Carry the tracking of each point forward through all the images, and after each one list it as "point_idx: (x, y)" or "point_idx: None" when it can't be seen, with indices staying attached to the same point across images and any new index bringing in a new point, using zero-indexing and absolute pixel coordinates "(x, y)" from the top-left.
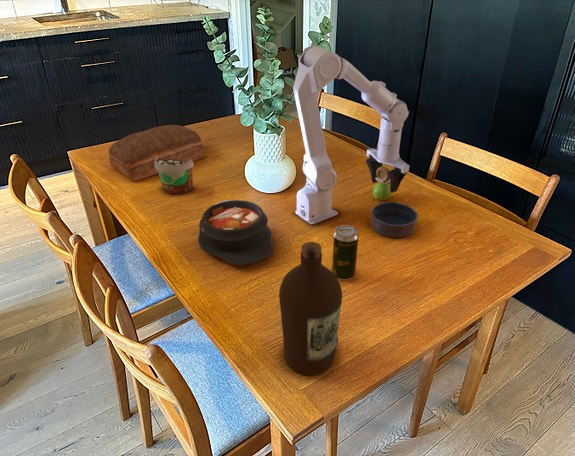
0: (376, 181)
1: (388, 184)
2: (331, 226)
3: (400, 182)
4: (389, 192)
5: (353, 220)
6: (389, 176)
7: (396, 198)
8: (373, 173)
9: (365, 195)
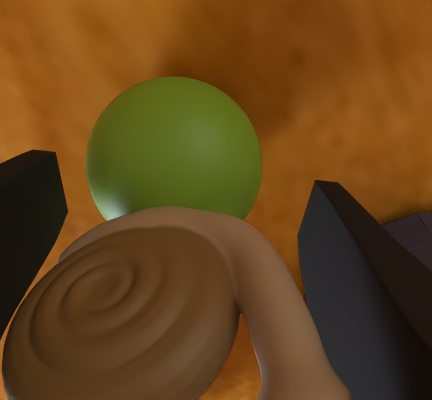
0: (58, 182)
1: (200, 170)
2: (213, 390)
3: (403, 251)
4: (259, 179)
5: (241, 342)
6: (235, 320)
7: (261, 15)
8: (9, 303)
9: (75, 161)
